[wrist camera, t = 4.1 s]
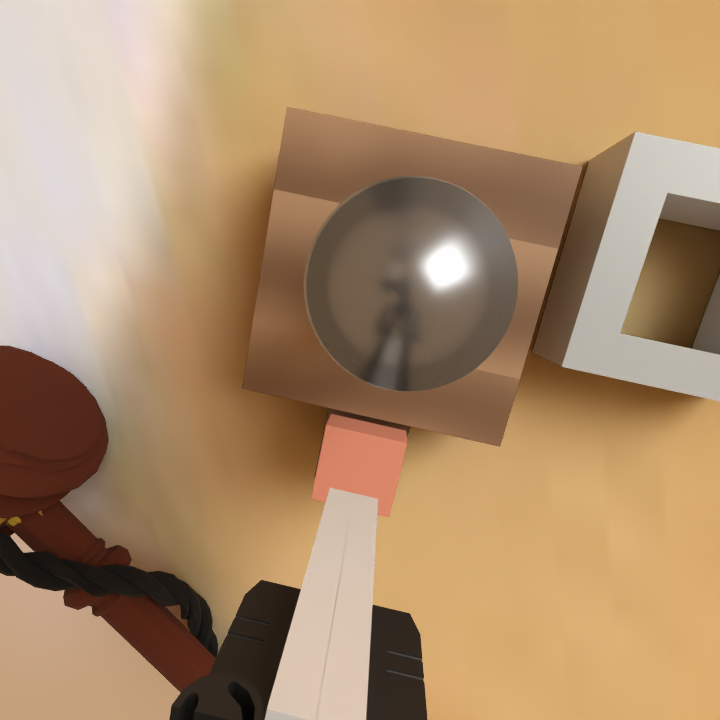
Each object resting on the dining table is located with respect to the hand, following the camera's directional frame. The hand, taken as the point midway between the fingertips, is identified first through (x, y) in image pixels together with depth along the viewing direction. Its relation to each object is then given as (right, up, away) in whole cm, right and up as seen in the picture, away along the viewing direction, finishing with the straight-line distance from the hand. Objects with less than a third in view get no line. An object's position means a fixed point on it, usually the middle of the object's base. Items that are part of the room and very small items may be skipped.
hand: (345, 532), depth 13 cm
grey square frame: (+16, +9, +9) cm, 20 cm away
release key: (+1, +2, +10) cm, 11 cm away
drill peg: (+2, +9, +10) cm, 14 cm away
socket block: (+2, +7, +10) cm, 13 cm away
